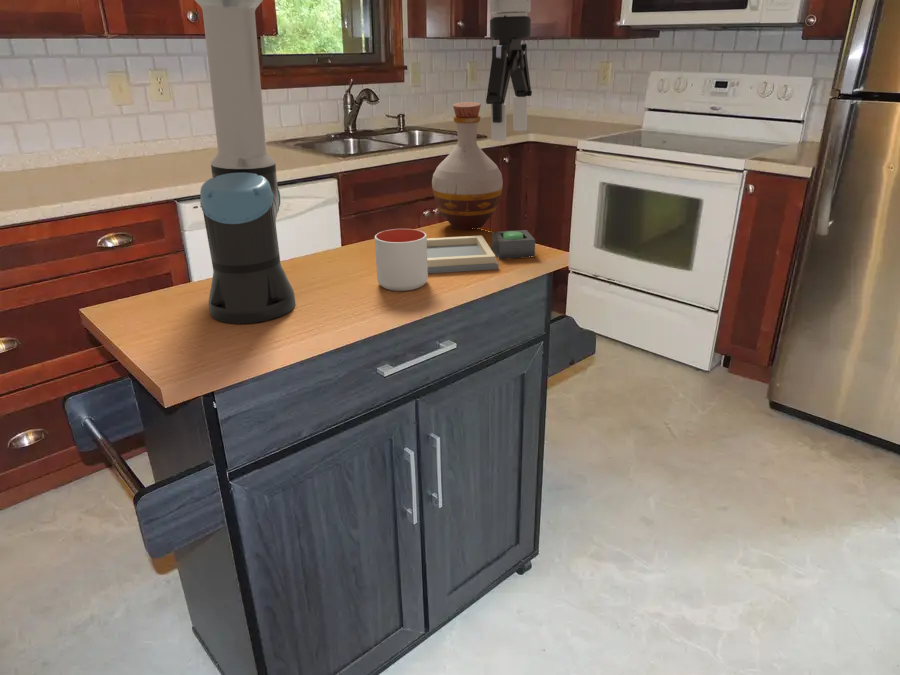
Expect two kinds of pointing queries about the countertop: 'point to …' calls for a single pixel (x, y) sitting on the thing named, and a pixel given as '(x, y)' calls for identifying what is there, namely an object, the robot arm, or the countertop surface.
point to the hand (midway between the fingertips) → (509, 135)
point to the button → (513, 235)
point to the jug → (467, 175)
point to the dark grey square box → (513, 245)
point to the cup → (401, 259)
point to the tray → (459, 254)
